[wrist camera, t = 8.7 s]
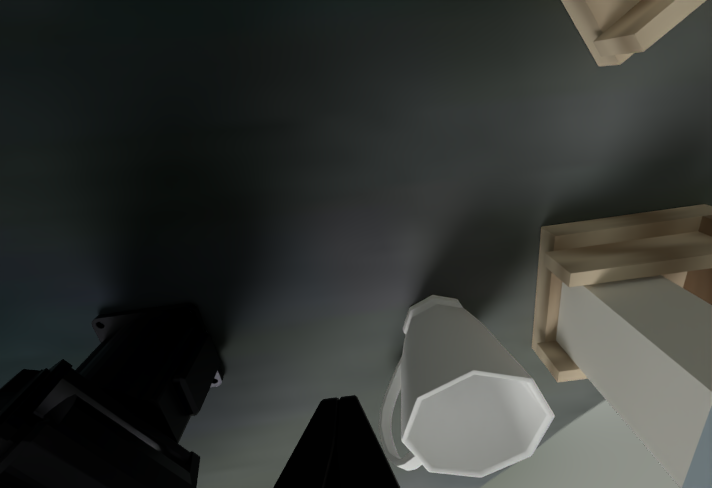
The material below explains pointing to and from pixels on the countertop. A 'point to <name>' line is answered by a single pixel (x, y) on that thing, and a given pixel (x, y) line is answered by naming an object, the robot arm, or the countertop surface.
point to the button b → (648, 365)
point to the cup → (460, 396)
